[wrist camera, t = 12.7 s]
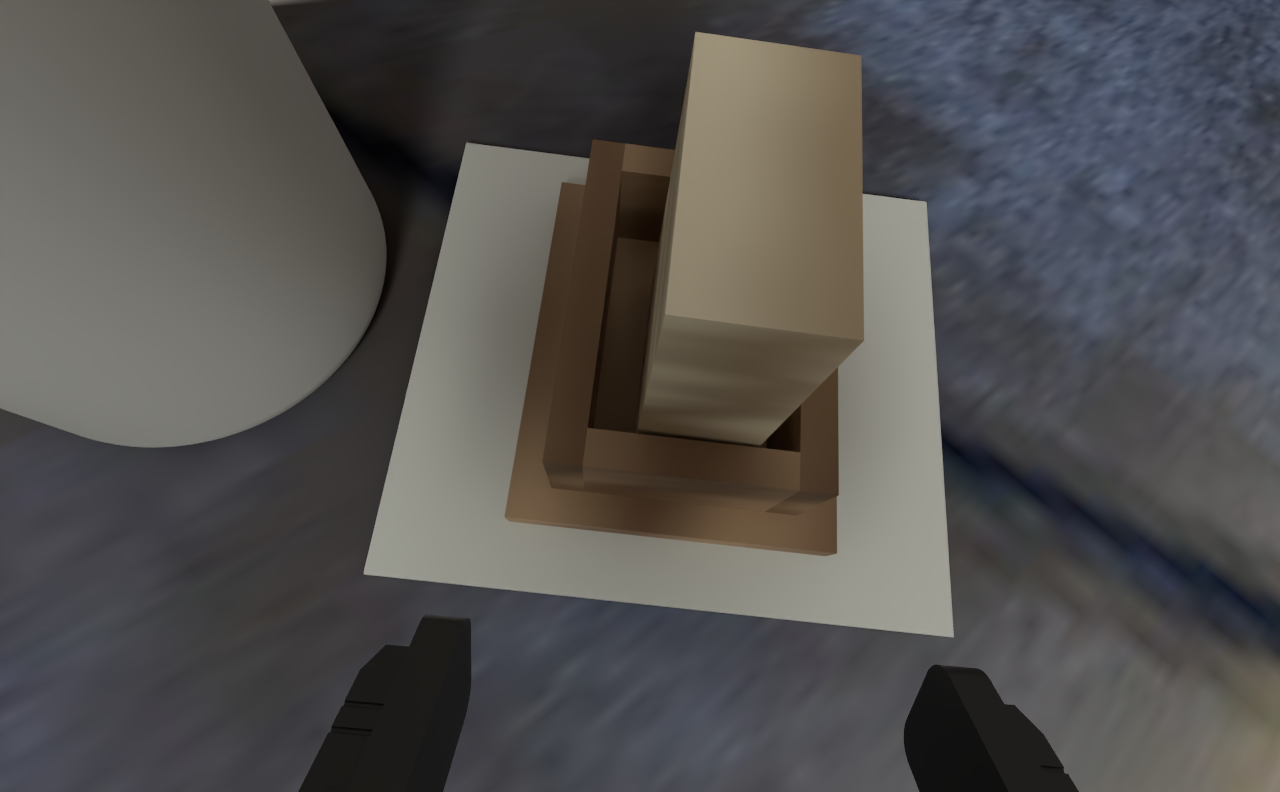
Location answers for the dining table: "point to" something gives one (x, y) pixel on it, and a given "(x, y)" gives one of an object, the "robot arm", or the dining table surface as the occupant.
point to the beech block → (756, 242)
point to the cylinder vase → (172, 221)
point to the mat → (637, 565)
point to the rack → (609, 387)
